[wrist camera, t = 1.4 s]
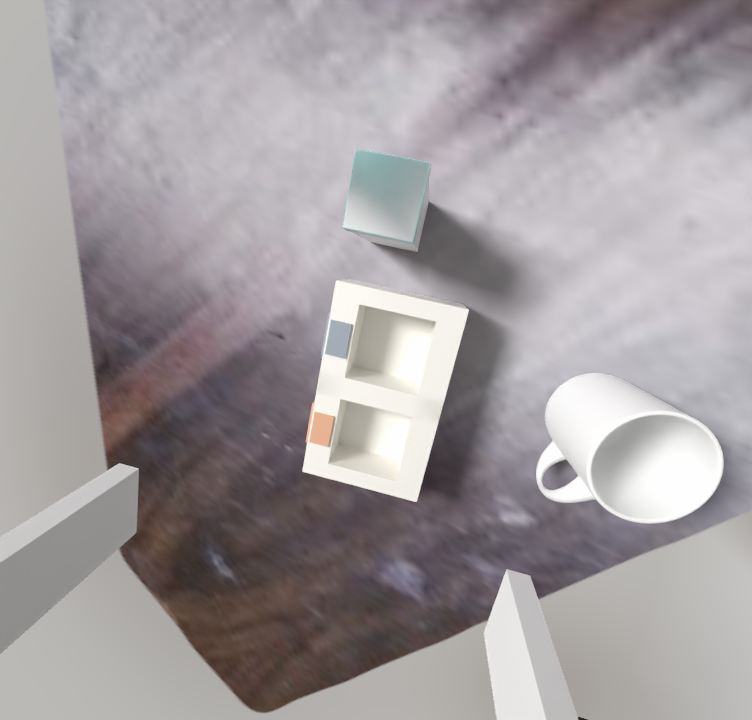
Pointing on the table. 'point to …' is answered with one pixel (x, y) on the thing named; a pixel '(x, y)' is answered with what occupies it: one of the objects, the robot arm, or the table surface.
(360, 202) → the plug
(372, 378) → the socket box
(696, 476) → the mug
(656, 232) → the table surface
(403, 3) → the table surface
